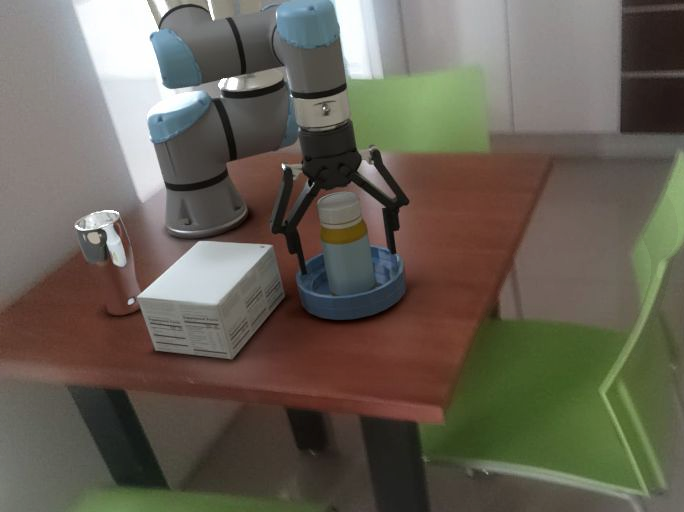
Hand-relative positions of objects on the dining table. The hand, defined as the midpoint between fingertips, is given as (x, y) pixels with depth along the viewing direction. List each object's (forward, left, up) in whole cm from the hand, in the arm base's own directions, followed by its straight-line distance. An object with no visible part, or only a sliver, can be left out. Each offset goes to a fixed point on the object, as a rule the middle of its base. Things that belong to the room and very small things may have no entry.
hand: (348, 260), depth 117 cm
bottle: (0, 0, -5) cm, 5 cm away
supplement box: (-6, -19, -6) cm, 21 cm away
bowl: (0, 0, -6) cm, 6 cm away
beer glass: (-22, -30, -6) cm, 37 cm away
